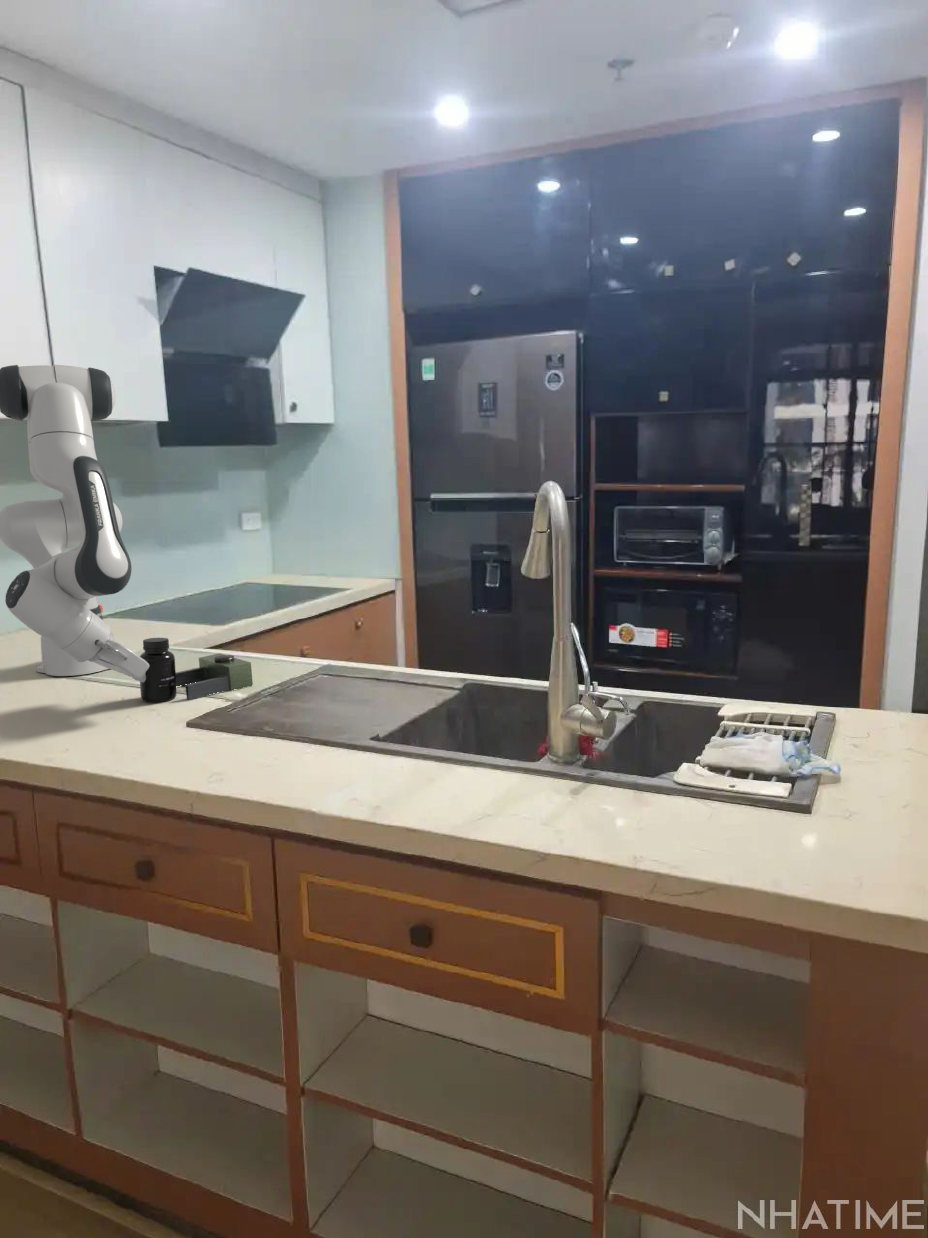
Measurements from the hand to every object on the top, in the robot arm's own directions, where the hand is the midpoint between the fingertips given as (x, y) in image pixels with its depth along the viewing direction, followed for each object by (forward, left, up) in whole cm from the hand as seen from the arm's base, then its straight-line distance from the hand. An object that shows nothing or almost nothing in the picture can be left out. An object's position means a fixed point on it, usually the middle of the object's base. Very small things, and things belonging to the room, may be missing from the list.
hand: (142, 678), depth 173 cm
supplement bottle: (-2, +2, -5) cm, 6 cm away
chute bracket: (-8, +10, -5) cm, 14 cm away
